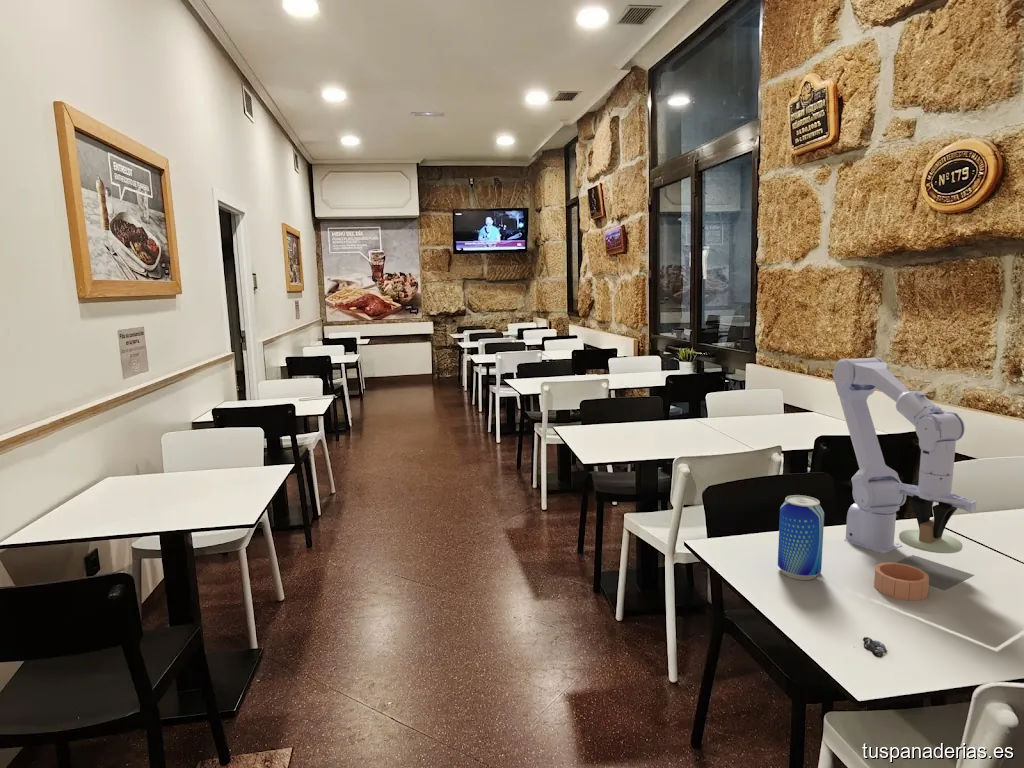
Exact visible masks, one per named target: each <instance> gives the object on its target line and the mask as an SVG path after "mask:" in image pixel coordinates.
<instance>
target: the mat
mask: <svg viewBox="0 0 1024 768" xmlns="http://www.w3.org/2000/svg"><path fill="white" fill-rule="evenodd" d="M895 563H901V564H907V565H910V566H913V567H916V568H919V569H921V570H923V571H924V572H926V573H927V574H928V576H929V586H931V587H934V588H936V589H939V590H942V591H947V590H948V589H951V588H952V587H954V586H956V585H958V584H960V583H962V582H964V581H966V580H967V579H970V578H972V577H974V576H975V574H972V573H968V572H967V571H964V570H960V569H957V568H954V567H950V566H948V565H945V564H942V563H939V562H935V561H933V560H930V559H926V558H924V557H921V556H917V555H915V554H912V555H910V556H908V557H905V558H903V559H901V560H899V561H896V562H895Z"/></svg>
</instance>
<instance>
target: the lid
mask: <svg viewBox="0 0 1024 768" xmlns="http://www.w3.org/2000/svg"><path fill="white" fill-rule="evenodd" d="M933 529H934V518H933V519H930V520H929V521H927V522H924V523H922V524H920V530H919V529H904V530H903V531H901V532H900V533H899V534H898V539H899V540H900V542H901V543H903V544H905V545H906V546H908V547H911V548H914V549H917V550H919V551H925V552H929V553H936V554H955V553H956V554H957V553H958V552H961V551H962V550H963V542H961V540H959V539H957V538H955V537H953V536H951V535H948V534H945V533H943V534H942V537H940V538H938V539H936V538H933Z"/></svg>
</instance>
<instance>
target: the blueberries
mask: <svg viewBox="0 0 1024 768" xmlns="http://www.w3.org/2000/svg"><path fill="white" fill-rule="evenodd" d="M862 641H863V648H864V649H865V650H867V651H868V652H871V654H872V655H873V657H876V658H884V656H886V655H887V652H889V650H887V647H886V645H885V644H884V643H882V642H881V641H879V640H873V639H872V638H871V637H869V636H866V637H865V636H864V637H863V638H862ZM853 648H856V646H855V645H853Z"/></svg>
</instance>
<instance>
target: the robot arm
mask: <svg viewBox="0 0 1024 768" xmlns="http://www.w3.org/2000/svg"><path fill="white" fill-rule="evenodd" d="M832 377H833V381H834V385H835V389H836V391H837V396H839V401H840V404H841V408H842V411H843V415H844V419H845V423H846V425H847V429H848V433H849V436H850V440H851V443H852V446H853V447H852V448H853V450H854V453H855V457H856V461H857V465H858V468H859V469H858V470H857V471H856V473H854V475H853V476H852V477H851V480H850V481H851V483H852V492H851V493H852V498H853V500H854V503H853V504H851V505H850V507H849V508H848V511H847V515H846V527H845V538H843V541H845V542H847V543H851V544H853V545H857V546H859V547H861V548H862V547H863V548H866V549H868V550H872V551H873V552H877V553H880V554H886V553H889V552H891V551H894V550H896V549H899V548H901V547H902V546H903V544H901V543H897V542H895V535H896V534H895V533H896V521H897V520H896V519H897V512H898V511H900V507H901V506H903V505H904V504H905V503H906V501H907V496H910V497H912V499H911V500H909V505H910V507H911V508H912V511H913V513H914V515H915V518H916V522H917V525H918V530H920V524H922V523H924V522H927V521H929V520H931V513H933V519H934V529H933V538H936V539H938V538H940V537H942V534H944V531H945V528H946V526H947V524H948V522H949V521H950V519H951V518H952V516H953V515H954V513H955V512H956V511H957V510H958V509H960V510H965V512H968V513H973V512H975V511H976V510H977V500H972V499H970V498H967V497H964V496H962V495H958V494H955V493H953V492H952V487H953V478H954V469H955V467H954V466H955V455H956V445H957V443H956V442H957V441H959V440H960V439H962V437H963V436H964V434H965V431H966V430H965V423H964V421H963V419H962V417H960V415H959V414H958V413H957V412H954V411H948V412H947V411H946V410H942V407H940V406H939V405H936V404H935V403H934V402H932V400H930V399H929V398H928V397H926V393H925V392H924V391H918V390H911V391H910V390H909V389H908V388H907V387H906V386H905V385H904V384H903V383H902V382H901V381H900V380H899V379H898V378H897V377H896V376H895V375H894V374H893V373H892V372H891V371H890V366H889V364H888V362H887V363H886V362H885V361H884V360H883V359H882V358H880V357H877V356H873V357H867V358H866V357H864V358H861V357H860V358H840V359H839V360H838V361H837V362H836V363H835V367H834V369H833V371H832ZM877 389H878V390H879V391H880V392H882V393H883V394H884V395H886V396H887V397H888V398H889V399H891V400H892V401H893V402H895V408H896V411H898V413H899V414H900V415H902V416H903V417H904V418H906V419H907V421H909V422H910V423H911V425H913V426H914V427H915V433H916V436H917V438H918V446H919V450H920V459H919V472H918V485H915V484H910V483H909V484H907V483H903V482H902V481H901V480H900V477H899V473H898V472H897V471H896V470H895V469H892V468H891V467H889V466H888V465H887V464H886V462H885V458H884V455H883V452H882V449H881V445H880V442H879V439H878V435H877V432H876V429H875V425H874V421H873V418H872V416H871V412H870V409H869V405H868V402H867V400H868V398H869V397H870V396H871V395H872V394H874V393H875V391H876V390H877ZM934 503H937V504H935V505H934Z"/></svg>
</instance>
